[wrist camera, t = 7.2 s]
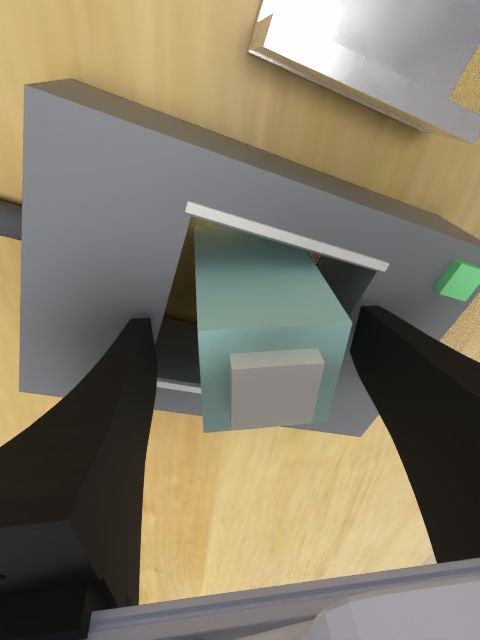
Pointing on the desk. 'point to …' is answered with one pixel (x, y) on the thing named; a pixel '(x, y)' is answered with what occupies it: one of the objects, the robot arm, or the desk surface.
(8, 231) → the grey bar
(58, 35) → the desk surface
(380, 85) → the grey metal channel bracket
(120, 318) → the port panel
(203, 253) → the plug
